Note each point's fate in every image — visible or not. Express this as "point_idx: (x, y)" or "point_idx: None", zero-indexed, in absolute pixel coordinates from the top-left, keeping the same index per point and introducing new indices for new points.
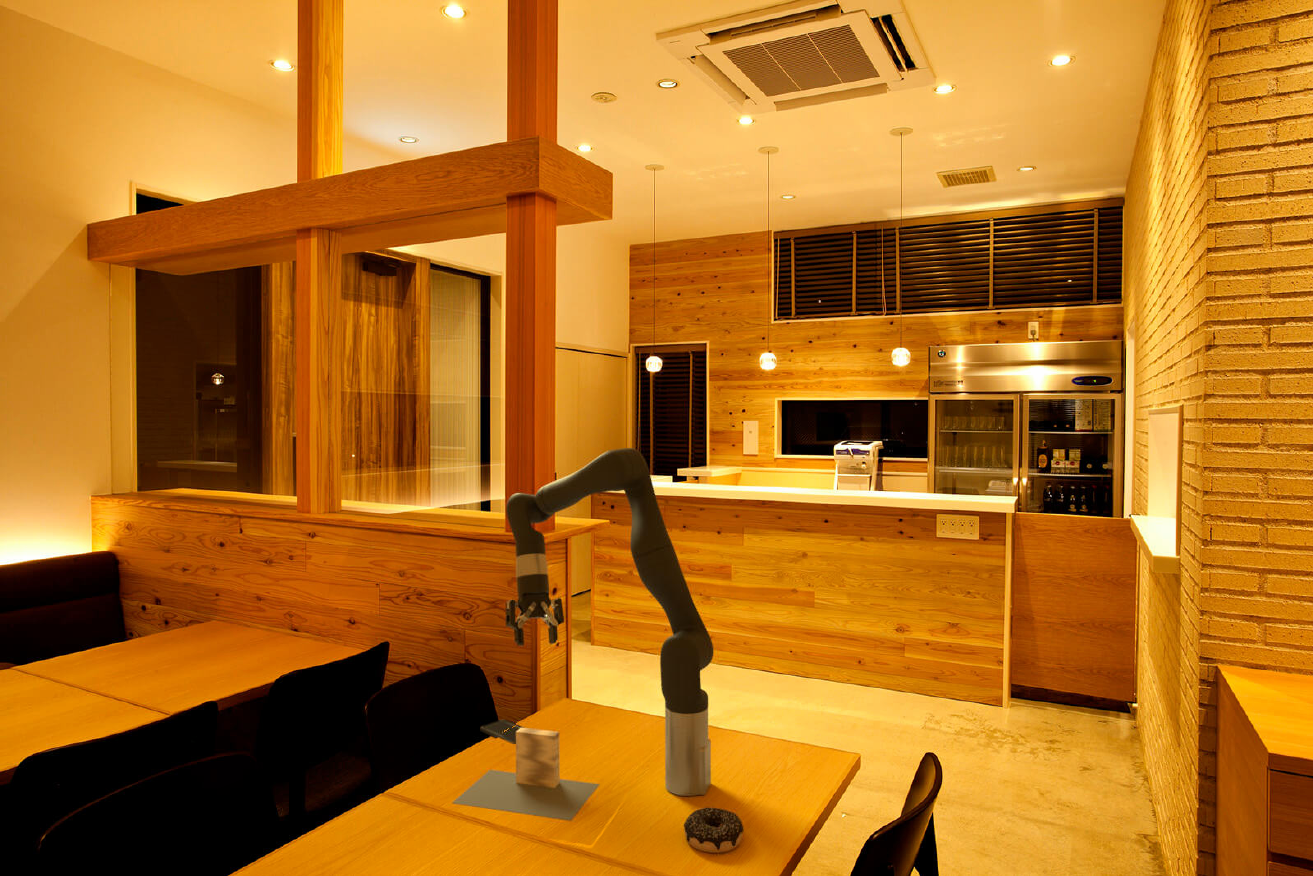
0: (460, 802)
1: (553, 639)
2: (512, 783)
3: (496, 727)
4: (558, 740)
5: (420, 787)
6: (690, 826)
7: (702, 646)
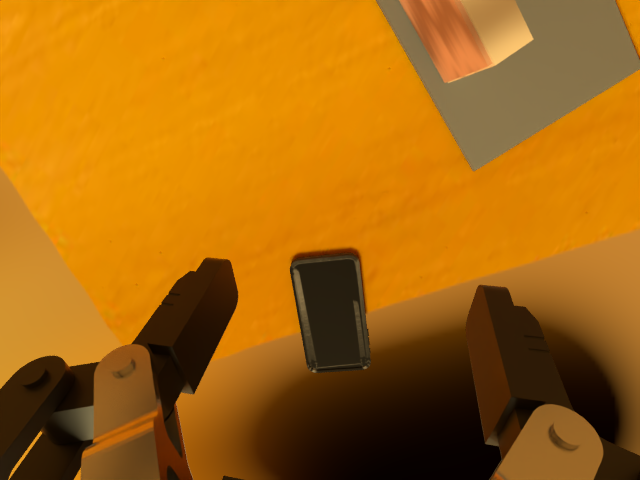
0: (628, 55)
1: (219, 272)
2: None
3: (342, 349)
4: None
5: (622, 199)
6: None
7: None
